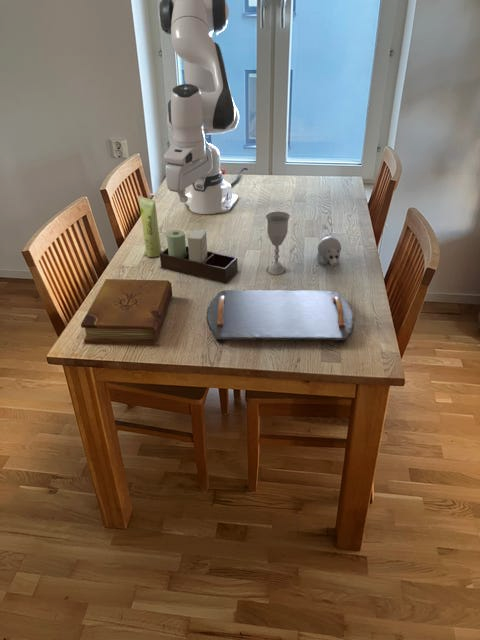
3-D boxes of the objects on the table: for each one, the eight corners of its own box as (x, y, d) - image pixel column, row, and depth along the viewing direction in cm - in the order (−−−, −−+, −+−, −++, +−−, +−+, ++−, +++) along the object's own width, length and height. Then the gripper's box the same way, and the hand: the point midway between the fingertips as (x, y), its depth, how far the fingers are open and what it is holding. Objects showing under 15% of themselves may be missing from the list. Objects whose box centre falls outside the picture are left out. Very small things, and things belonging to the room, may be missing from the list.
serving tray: (203, 346, 131) (202, 326, 127) (210, 297, 150) (209, 279, 146) (359, 348, 130) (362, 327, 126) (345, 298, 149) (348, 279, 145)
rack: (174, 257, 171) (173, 243, 168) (237, 271, 162) (237, 257, 160) (161, 268, 165) (159, 253, 162) (225, 283, 156) (225, 269, 154)
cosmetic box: (203, 275, 161) (201, 239, 154) (189, 274, 162) (186, 238, 155) (208, 265, 166) (206, 230, 159) (195, 264, 167) (192, 229, 160)
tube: (143, 258, 171) (136, 201, 160) (145, 250, 175) (138, 195, 164) (161, 257, 171) (154, 200, 160) (162, 250, 175) (156, 194, 164)
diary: (157, 345, 132) (155, 326, 128) (84, 343, 133) (80, 324, 129) (172, 297, 151) (171, 279, 147) (108, 295, 152) (105, 278, 148)
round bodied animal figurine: (321, 275, 160) (323, 250, 155) (314, 257, 170) (316, 233, 165) (344, 274, 160) (347, 249, 156) (336, 256, 170) (339, 232, 165)
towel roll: (175, 259, 170) (172, 228, 163) (190, 263, 167) (188, 231, 161) (166, 267, 165) (163, 235, 159) (181, 270, 163) (178, 238, 157)
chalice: (276, 262, 167) (277, 209, 157) (292, 269, 163) (294, 215, 153) (260, 270, 163) (260, 216, 153) (276, 278, 159) (278, 223, 149)
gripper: (198, 137, 155) (200, 182, 163) (160, 158, 140) (164, 206, 148) (216, 140, 152) (218, 185, 160) (180, 161, 137) (183, 210, 146)
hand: (192, 195), depth 154 cm, fingers open, 8 cm apart
